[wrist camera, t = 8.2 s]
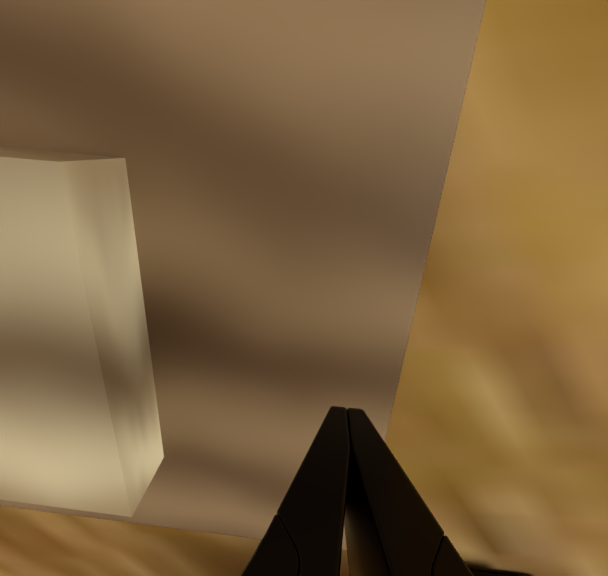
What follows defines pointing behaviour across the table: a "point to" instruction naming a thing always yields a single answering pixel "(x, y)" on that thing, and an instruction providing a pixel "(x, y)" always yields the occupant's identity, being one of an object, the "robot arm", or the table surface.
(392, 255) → the bench board
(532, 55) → the table surface
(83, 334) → the maple plate
